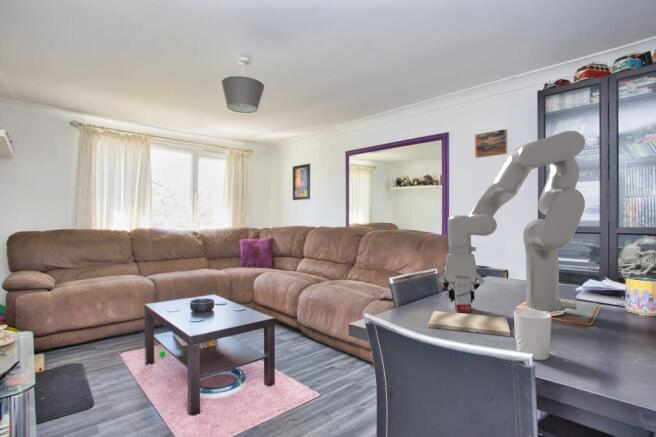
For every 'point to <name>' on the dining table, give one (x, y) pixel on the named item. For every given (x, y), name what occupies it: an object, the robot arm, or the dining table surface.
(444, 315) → the birch board
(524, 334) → the white cup
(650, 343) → the dining table surface
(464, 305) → the ink box
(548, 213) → the robot arm
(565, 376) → the dining table surface
